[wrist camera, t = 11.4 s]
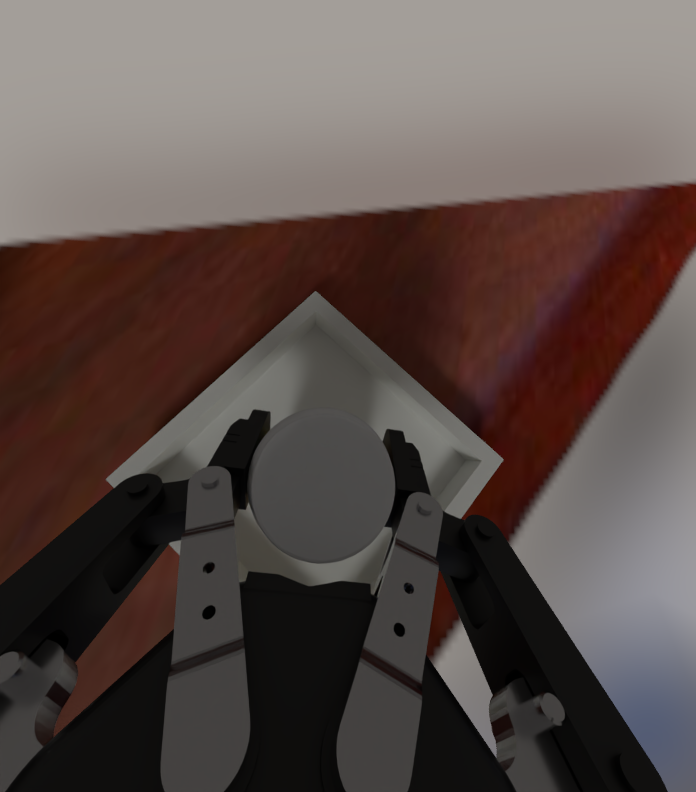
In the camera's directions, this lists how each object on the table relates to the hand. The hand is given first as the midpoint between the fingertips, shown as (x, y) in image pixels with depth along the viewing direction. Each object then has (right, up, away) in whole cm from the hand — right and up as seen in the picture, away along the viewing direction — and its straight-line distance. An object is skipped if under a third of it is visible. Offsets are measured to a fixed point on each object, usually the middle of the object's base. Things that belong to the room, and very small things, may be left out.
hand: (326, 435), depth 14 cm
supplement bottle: (-1, -3, +4) cm, 5 cm away
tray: (-1, -3, +6) cm, 7 cm away
